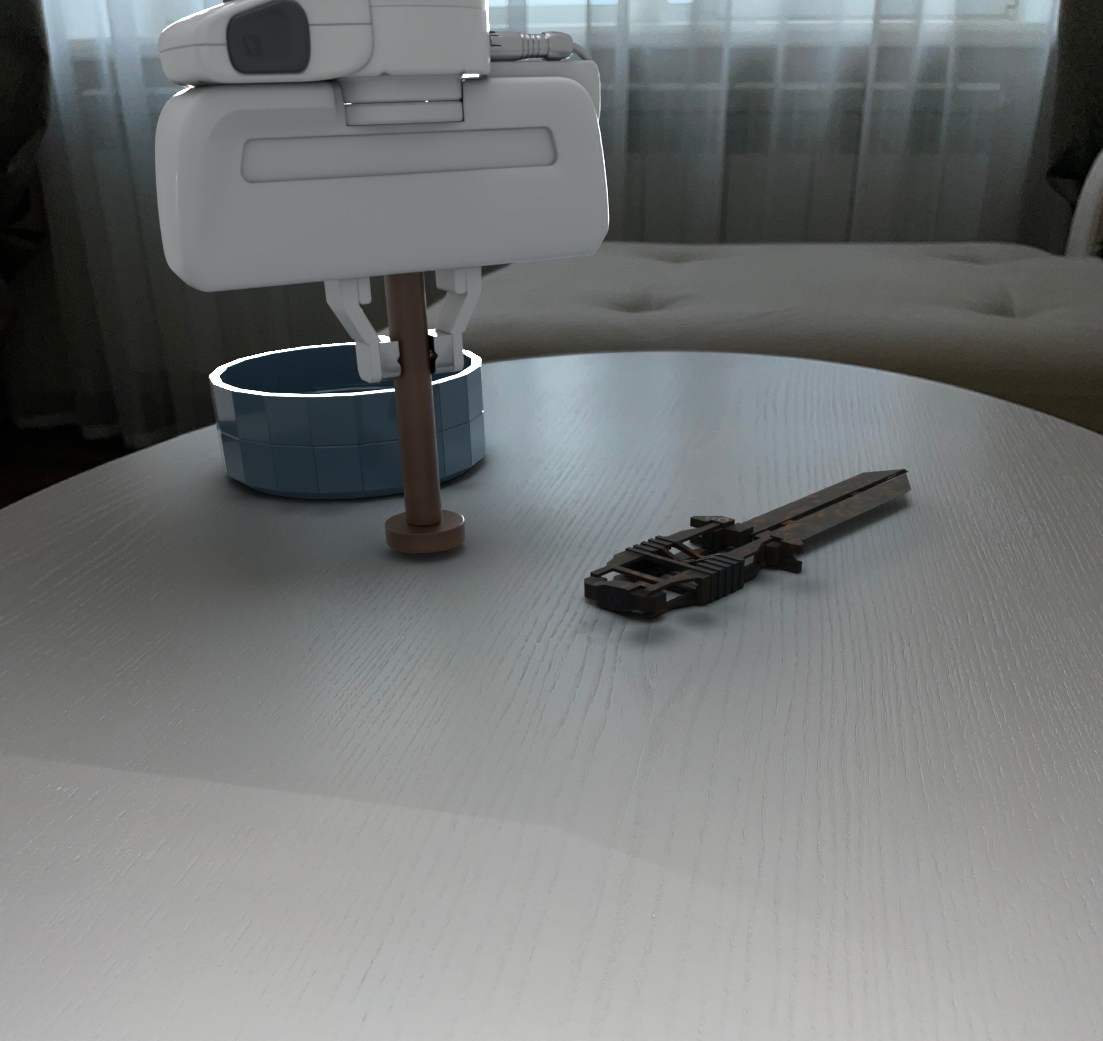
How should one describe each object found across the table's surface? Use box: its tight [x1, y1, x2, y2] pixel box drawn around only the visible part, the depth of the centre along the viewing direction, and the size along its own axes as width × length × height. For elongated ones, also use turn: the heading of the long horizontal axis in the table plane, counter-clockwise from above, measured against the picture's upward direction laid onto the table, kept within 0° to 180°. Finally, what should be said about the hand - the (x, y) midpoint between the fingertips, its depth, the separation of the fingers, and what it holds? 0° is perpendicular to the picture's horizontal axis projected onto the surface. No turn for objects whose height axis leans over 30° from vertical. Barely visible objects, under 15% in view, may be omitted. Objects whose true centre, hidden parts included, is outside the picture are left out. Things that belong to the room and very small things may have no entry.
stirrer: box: [383, 271, 467, 554], centre depth 54 cm, size 4×4×16 cm
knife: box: [583, 468, 912, 619], centre depth 57 cm, size 25×6×1 cm, turn 130°
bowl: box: [208, 342, 487, 500], centre depth 71 cm, size 16×16×6 cm
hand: (411, 375), depth 54 cm, fingers closed on stirrer, 2 cm apart
